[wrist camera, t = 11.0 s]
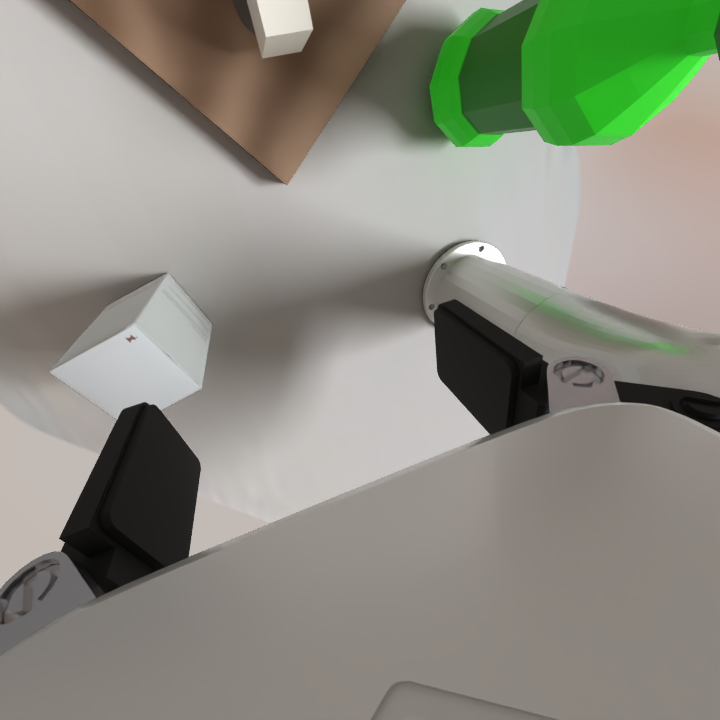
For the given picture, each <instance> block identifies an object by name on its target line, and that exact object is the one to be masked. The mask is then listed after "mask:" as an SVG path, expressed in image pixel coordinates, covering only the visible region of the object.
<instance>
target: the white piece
mask: <svg viewBox="0 0 720 720" xmlns="http://www.w3.org/2000/svg"><path fill="white" fill-rule="evenodd" d="M247 4H248V7H249V11H250V15H251V19H252V22H253V26H254V30H255V34H256V38H257V41H258V45H259V49H260V53H261V56H262V59H263V58H268V57H274V56H280V55H285V54H291V53H296V52H301V51H302V49H303V47H304V46H305V44H306V42H307V40H308V38H309V36H310V34H311V32H312V30H313V26H312V20H311V15H310V10H309V4H308V0H247Z"/></svg>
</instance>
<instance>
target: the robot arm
mask: <svg viewBox="0 0 720 720" xmlns="http://www.w3.org/2000/svg"><path fill="white" fill-rule="evenodd" d="M423 306H424V310H425V313H426V314H427V316H428V318H429V319H430V320H431V321H432V322H433V323H434V327H435V342H436V358H437V371H438V375H439V377H440V379H441V381H442V382H443V383H444V384H445V385H446V386H447V387H448V388H449V389H450V391H451V392H452V393H453V394H454V395H455V396H456V397H457V398H458V399H459V401H460V402H461V403H462V404H463V405H464V406H465V407H466V408H467V409H468V411H469V412H470V413H471V414H472V415H473V416H474V417H475V418H476V419H477V420H478V422H479V423H480V424H481V425H482V426H483V427H484V428H485V429H486V430H487V432H488V433H489V434H490V435H488V436H486V437H483V438H481V439H478V440H475V441H473V442H470V443H468V444H465V445H463V446H460V447H458V448H455V449H453V450H450V451H448V452H445V453H443V454H440V455H438V456H435V457H433V458H430V459H428V460H425V461H423V462H420V463H418V464H415V465H413V466H410V467H408V468H405V469H403V470H400V471H398V472H395V473H393V474H390V475H388V476H386V477H383V478H381V479H378V480H376V481H373V482H371V483H368V484H366V485H363V486H361V487H358V488H356V489H353V490H351V491H349V492H346V493H344V494H341V495H339V496H336V497H334V498H331V499H329V500H326V501H324V502H322V503H319V504H317V505H314V506H312V507H309V508H307V509H304V510H302V511H299V512H297V513H295V514H292V515H290V516H287V517H285V518H282V519H280V520H278V521H275V522H273V523H270V524H268V525H266V526H263V527H261V528H258V529H256V530H253V531H251V532H248V533H246V534H244V535H241V536H239V537H236V538H234V539H231V540H229V541H227V542H224V543H222V544H219V545H217V546H215V547H212V548H210V549H207V550H205V551H202V552H200V553H198V554H195V555H193V556H190V557H189V550H190V543H191V535H192V528H193V521H194V513H195V506H196V499H197V492H198V485H199V478H200V471H201V467H200V462H199V460H198V458H197V457H196V456H195V454H194V453H193V452H192V450H191V449H190V448H189V447H188V445H187V444H186V443H185V441H184V440H183V439H182V438H181V436H180V435H179V434H178V432H177V431H176V430H175V429H174V427H173V426H172V425H171V423H170V422H169V421H168V420H167V418H166V417H165V416H164V414H163V413H162V412H161V411H160V409H159V408H158V407H157V406H156V405H154V404H152V405H150V404H148V403H146V402H143V403H140V404H137V405H134V406H131V407H128V408H125V409H123V410H122V411H121V413H120V415H119V417H118V419H117V421H116V423H115V425H114V427H113V429H112V431H111V433H110V435H109V438H108V440H107V442H106V444H105V446H104V448H103V450H102V452H101V454H100V456H99V458H98V460H97V462H96V464H95V466H94V468H93V470H92V472H91V474H90V476H89V479H88V481H87V483H86V485H85V487H84V489H83V491H82V493H81V495H80V497H79V499H78V501H77V503H76V505H75V507H74V509H73V511H72V514H71V515H70V517H69V520H68V521H67V523H66V526H65V528H64V530H63V532H62V534H61V536H60V538H59V539H61V540H62V541H64V542H65V543H64V546H63V548H62V550H61V552H51V553H48V554H45V555H42V556H40V557H38V558H36V559H35V560H33V561H31V562H30V563H28V564H27V565H26V566H24V567H23V568H21V569H20V570H19V571H18V572H17V573H15V574H14V575H13V576H12V577H11V578H10V579H9V580H8V581H7V582H6V583H5V584H4V585H3V586H2V588H1V589H0V720H720V334H715V333H712V332H708V331H703V330H699V329H695V328H690V327H686V326H682V325H678V324H673V323H669V322H665V321H661V320H657V319H654V318H650V317H647V316H643V315H639V314H636V313H632V312H629V311H626V310H623V309H621V308H618V307H615V306H612V305H609V304H606V303H603V302H601V301H598V300H595V299H593V298H590V297H587V296H585V295H582V294H580V293H577V292H574V291H572V290H569V289H567V288H564V287H562V286H559V285H557V284H554V283H552V282H549V281H546V280H544V279H541V278H539V277H536V276H534V275H531V274H528V273H526V272H523V271H521V270H518V269H516V268H513V267H511V266H508V265H506V264H505V261H504V258H503V256H502V254H501V253H500V251H499V250H498V249H497V248H495V247H494V246H492V245H490V244H488V243H485V242H482V241H467V242H463V243H460V244H457V245H456V246H454V247H452V248H450V249H449V250H448V251H446V252H445V253H444V254H443V255H442V256H441V257H440V258H439V259H438V260H437V261H436V262H435V264H434V265H433V267H432V268H431V270H430V272H429V274H428V276H427V278H426V281H425V284H424V288H423Z"/></svg>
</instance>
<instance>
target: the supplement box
mask: <svg viewBox="0 0 720 720" xmlns="http://www.w3.org/2000/svg"><path fill="white" fill-rule="evenodd" d="M211 330H212V323H211V322H210V321H209V320H208V319H207V318H206V316H205V315H204V314H203V313H202V312H201V310H200V309H199V308H198V307H197V306H196V305H195V303H194V302H193V301H192V300H191V299H190V298H189V296H188V295H187V294H186V293H185V292H184V291H183V290H182V288H181V287H180V286H179V285H178V284H177V283H176V281H175V280H174V279H173V278H172V277H171V276H170V274H169V273H166V274H164V275H162V276H161V277H159V278H157V279H155V280H153V281H151V282H150V283H148V284H146V285H144V286H142V287H140V288H138V289H137V290H135V291H133V292H131V293H129V294H127V295H125V296H124V297H122V298H120V299H118V300H116V301H114V302H113V303H111V304H109V305H108V306H107V307H106V308H105V309H104V310H103V311H102V312H101V313H100V315H99V316H98V317H97V318H96V319H95V320H94V321H93V322H92V324H91V325H90V326H89V327H88V328H87V329H86V330H85V331H84V333H83V334H82V335H81V336H80V337H79V338H78V339H77V340H76V341H75V342H74V344H73V345H72V346H71V347H70V348H69V349H68V350H67V352H66V353H65V354H64V355H63V356H62V357H61V358H60V359H59V361H58V362H57V363H56V364H55V365H54V366H53V367H52V368H51V370H50V371H49V373H50V374H52V375H53V376H55V377H56V378H58V379H59V380H60V381H62V382H63V383H65V384H66V385H68V386H69V387H71V388H72V389H73V390H75V391H76V392H78V393H79V394H81V395H82V396H83V397H85V398H86V399H88V400H89V401H90V402H92V403H93V404H95V405H96V406H97V407H99V408H100V409H102V410H103V411H105V412H106V413H107V414H109V415H110V416H112V417H113V418H114V419H116V420H117V419H118V417H119V415H120V413H121V411H122V410H123V409H125V408H128V407H131V406H134V405H137V404H140V403H143V402H146V403H148V404H150V405H152V404H154V405H156V406H157V407H158V408H159V409H160V411H161V410H162V409H164V408H166V407H168V406H170V405H172V404H174V403H176V402H178V401H179V400H181V399H183V398H185V397H187V396H189V395H191V394H193V393H195V392H197V391H199V390H201V389H202V385H203V378H204V372H205V366H206V360H207V354H208V349H209V343H210V336H211Z"/></svg>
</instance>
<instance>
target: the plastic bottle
mask: <svg viewBox="0 0 720 720" xmlns="http://www.w3.org/2000/svg"><path fill="white" fill-rule="evenodd" d="M715 53H718V55H719V60H720V0H523V1H521V2H519V3H518V4H516V5H514V6H513V7H511V8H509V9H507V10H506V11H503V10H494V9H486V8H480V9H479V10H477V11H476V12H474V13H473V14H472V15H471V16H469V17H468V18H467V19H466V20H465V21H464V22H463V23H462V24H461V25H460V26H459V27H458V28H457V29H456V30H455V31H454V32H453V33H451V34H450V35H449V36H448V37H447V38H446V39H445V40H444V42H443V44H442V47H441V50H440V53H439V56H438V59H437V63H436V66H435V69H434V72H433V76H432V79H431V82H430V85H429V90H430V97H431V104H432V111H433V118H434V123H435V124H436V125H437V126H438V127H439V128H440V129H441V131H442V132H443V133H444V134H445V135H446V136H447V137H448V138H449V140H450V141H451V142H452V143H453V144H454V145H455V146H456V147H485V146H490V145H492V144H493V143H494V142H495V141H497V140H498V139H499V138H500V137H501V136H502V135H504V134H505V133H513V132H522V131H531V130H537V132H538V133H539V135H540V136H541V138H542V139H543V141H544V142H547V143H550V144H553V145H557V146H580V145H612V144H614V143H616V142H618V141H620V140H622V139H624V138H626V137H629V136H631V135H632V134H634V133H635V132H636V131H637V130H639V129H640V128H641V127H642V126H643V125H645V124H646V123H647V122H648V121H649V120H651V119H652V118H653V117H654V116H655V115H657V114H658V113H659V112H660V111H661V110H663V109H664V108H665V107H666V106H667V105H669V104H670V103H671V102H672V101H673V100H674V99H675V98H676V97H677V96H678V95H679V93H680V92H681V91H682V90H683V89H684V88H685V86H686V85H687V84H688V83H689V82H690V81H691V79H692V78H693V77H694V76H695V75H696V74H697V72H698V71H699V69H700V68H701V67H702V65H703V64H704V63H705V61H706V60H707V59H708V57H709V56H710V55H711V54H715Z"/></svg>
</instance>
